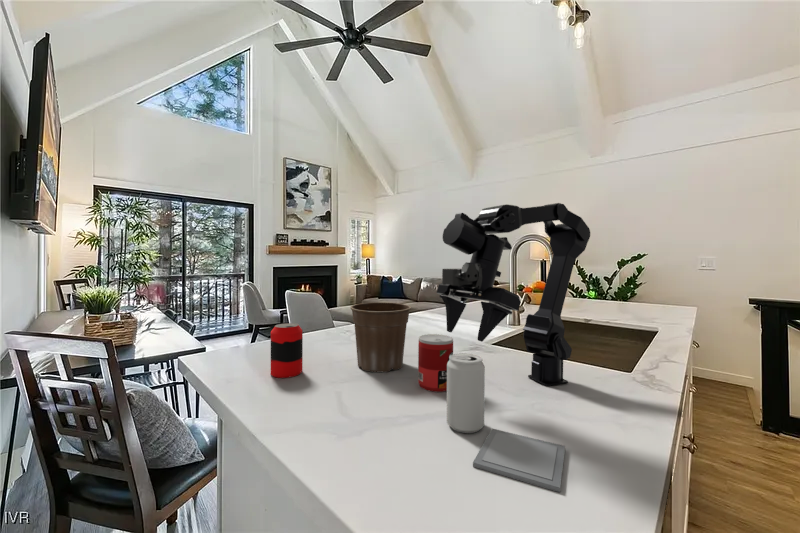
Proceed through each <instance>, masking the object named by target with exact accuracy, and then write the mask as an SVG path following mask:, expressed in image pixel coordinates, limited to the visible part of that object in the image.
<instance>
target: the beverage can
mask: <svg viewBox="0 0 800 533" xmlns="http://www.w3.org/2000/svg"><path fill="white" fill-rule="evenodd" d="M449 359H450V360H449V361H448V363H447V391H446V423H447V425H449V427H450V428H451V429H453V430H454V431H455V432H458V433H463V434H474V433H476V432H479V431H480V430H481V429H483V427H484V425H485V388H486V387H485V386H486V383H485V380H486V379H485V378H486V376H485V373H486V372H485V371H486V369H485V368H486V365H485V364H484V363H483V357H482V356H480V355H478V354H473V353H466V352H465V353H463V352H462V353H461V352H460V353H453V355H450V356H449Z"/></svg>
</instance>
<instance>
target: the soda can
mask: <svg viewBox="0 0 800 533" xmlns="http://www.w3.org/2000/svg"><path fill="white" fill-rule="evenodd" d="M303 334H304V333H303V329H302V327H301V326H300V325H299V323H293V322H292V323H290V322H289V323H279V324H276V325H274V327H273V328H272V330H271V331H270V375H271V376H272V377H274V378H275V379H276V378H278V379H289V378H293V377H297V376H299V375H300V374H302V372H303V356H304V355H303V342H304V341H303V340H304V339H303Z"/></svg>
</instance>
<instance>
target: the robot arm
mask: <svg viewBox="0 0 800 533" xmlns="http://www.w3.org/2000/svg"><path fill="white" fill-rule="evenodd" d="M556 221H559V222H560V223H558V224H555V223H554V222H556ZM542 222H543V224H544V232H545V234H546V235H547V236H548V237H549V247H550V250H551V252H552V257H551V258H552V259H551V263H550V265H549V269H548V273H547V277H546V281H545V284H544V288H543V292H542V295H541V300H540V302H539V303H540V304H539V307H538V309H537V311H536V312H535V313H534V314H531V313H528V314H527V316H526V318H525V324H524V327H523V328H522V331H523V336H522V338H523V340H524V343H525V346H526V347H525V348H526V352H527V353H533V354H532V360H531V371H530V372H531V374H528V375H527V377H528V378H529V379H531V380H534V381H535V382H537V383H540V384H541V385H544V386H545V387H546V386H547V387H548V386H549V387H550V386H557V385H564V384H569V380H567V379H564V361H568V359H570V358H571V355H572V350H573V349H572V347H571V345H570V344H569V343H568V341H567V340H566V339H565V336H564V335H565V332H566V331H565V326H564V322H563V319H562V317H561V316H562V312H563V308H564V304H565V300H566V296H567V293H568V288H569V285H570V279H571V276H572V274H573V273H572V272H573V269H574V264H575V261H576V259H577V258H578V257H580V255H581V254H582V253H584V252H585V250H586V248H587V245H588V243H589V240H590V238H591V229H590V228H589V226H588V225H587V223H586V222H585V221H584V219H583V218H582V217H581V216H579V215H577V214H576V213H574V212H572V211H571V210H570V209H568V208H567V207H566V205H565V204H564V203H561V202H556V203H550V204H549V203H548V204H544V205H539V206H537V205H536V206H532V207H531V206H530V207H520V206H518V205H513V204H501V205H496V206H491V207H490V206H489V207H484V208H482V209H480V212H479V214H478V216H477V217H476V218H474V219H472V217H471V218H470V216H468V215H467V214H466V213H464V212H458V213H455V215H454V217H453V219H451V220H450V222H449V223H448V224H447V225H446V227H445V228H444V229H443V233H442V241H443V243H444V244H445V245H447V246H448V247H451V248H453V249H455V250H457V251H459V252H460V253H463V254H465V255H471V258H470V262H465V263H463V265H462V266H461V268H442V272H441V274H442V275H441V276H442V277H441V278H442V280H441V283H439V284H438V286H437V289H436V294H437V295H438V296H439V298H440V299H441V300H442V301H443V303H444V306H445V318H446V320H445V321H446V332H448V333H453V331H454V330H455V328H456V326H457V324H458V322H459V320H460V318H461V316H462V314H463V312H464V310H465V308H466V307H467V303H465V302H466V301H467V300H468V299H470V300H477V301H480V304H481V305H480V306H481V308H482V316H481V321H480V323H479V324H480V325H479V328H478V334H477V341H479V342H484V341H485V340H486V338H488V336H489V335H490V334H491V333H492V332H493V330H494V329H496V327H497V326H498V325H499V324H500V323H501V322H502V321H503V320H504V319H505V318H507V317H508V315H513V311H516V312H519V310H520V306H521V299H520V296H519V295H518V294H516V293H514V292H512V291H510V290H508V289H506V288H504V287H494V284H495V280H496V278H500V277H501V276H502V272H501V271H499V269H498V268H499V265H500V262H501V258H502V256H503V255H502V254H503V251H511V250H513V247H512V245H511V243H510V241H509V240H508V237H505V236H504V237H502V236H501V237H499V236H498V235H496V234H506V233H507V234H508V233H512V232H514V231H516V230H519V229H520V228H521V227H522V226H524V225H529V224H536V223H537V224H538V223H542Z"/></svg>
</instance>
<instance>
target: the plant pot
mask: <svg viewBox="0 0 800 533" xmlns="http://www.w3.org/2000/svg"><path fill="white" fill-rule="evenodd" d="M350 310H351V311H352V322H353V323H354V324H353V325H354V335H355V345H356V358H357V366H358V368H361V369H362V370H363V371H367V372H371V373H388V372H390V371H392V370H394V371H397V370H399V369H401V368H402V367H403V364H404V353H405V352H404V351H405V343H406V342H405V341H406V332H407V324H408V322H409V317H410V310H412V306H410V305H409V304H404V303H397V302H362V303H356V304H353V305H350Z"/></svg>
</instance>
